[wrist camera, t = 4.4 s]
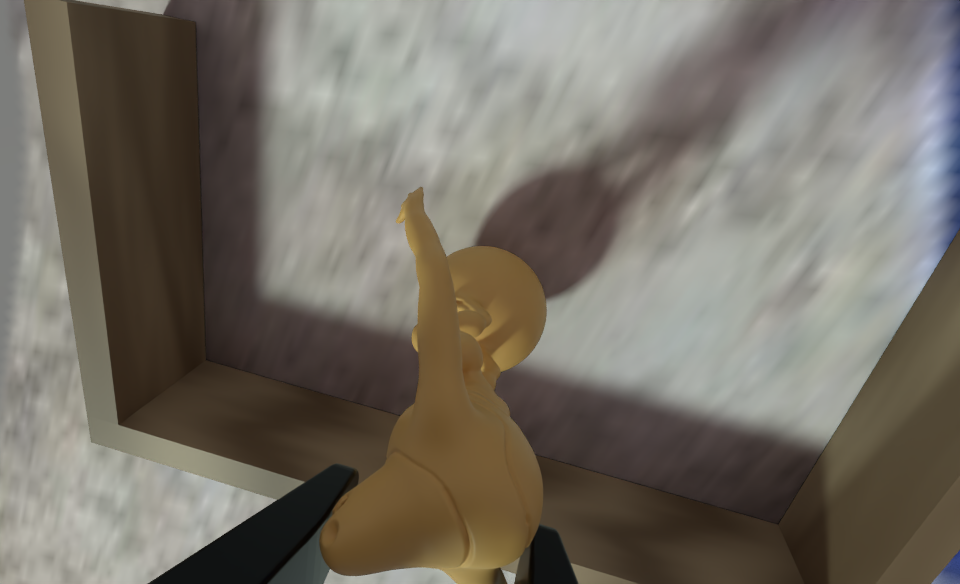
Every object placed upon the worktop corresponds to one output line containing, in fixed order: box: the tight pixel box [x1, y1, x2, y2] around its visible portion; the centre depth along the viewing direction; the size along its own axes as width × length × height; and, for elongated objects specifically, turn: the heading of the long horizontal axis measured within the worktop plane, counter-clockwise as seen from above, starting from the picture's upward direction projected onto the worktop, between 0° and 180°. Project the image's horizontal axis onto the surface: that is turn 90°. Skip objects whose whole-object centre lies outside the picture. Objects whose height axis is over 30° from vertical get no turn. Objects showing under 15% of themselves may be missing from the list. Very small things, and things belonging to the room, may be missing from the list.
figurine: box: [319, 187, 547, 584], centre depth 12 cm, size 8×6×12 cm
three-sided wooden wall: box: [24, 0, 960, 584], centre depth 16 cm, size 26×14×4 cm, turn 79°
